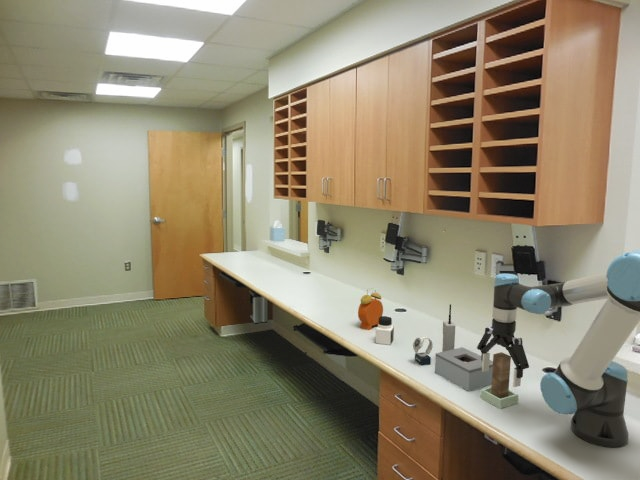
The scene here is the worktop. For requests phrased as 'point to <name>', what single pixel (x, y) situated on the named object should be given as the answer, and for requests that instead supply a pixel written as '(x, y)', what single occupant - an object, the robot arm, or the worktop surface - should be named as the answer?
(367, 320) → the alarm clock
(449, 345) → the grey rectangular bar
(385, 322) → the medicine bottle
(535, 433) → the worktop surface
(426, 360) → the watch
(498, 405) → the green square tray
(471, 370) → the grey box with hole
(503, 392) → the brown wooden block
